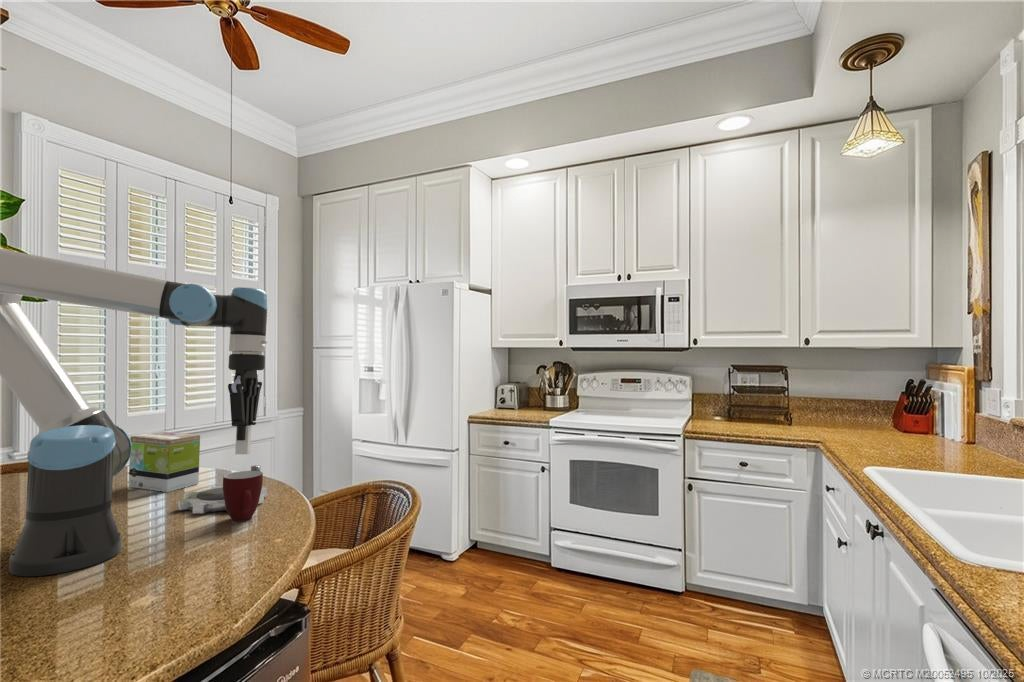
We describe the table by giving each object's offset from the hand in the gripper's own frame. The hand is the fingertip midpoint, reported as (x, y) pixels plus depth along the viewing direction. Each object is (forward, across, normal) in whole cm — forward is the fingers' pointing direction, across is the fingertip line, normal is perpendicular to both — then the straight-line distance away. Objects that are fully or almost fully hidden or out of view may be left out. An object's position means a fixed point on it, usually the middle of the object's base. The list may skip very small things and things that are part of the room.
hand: (242, 453), depth 114 cm
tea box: (+15, +29, +33) cm, 47 cm away
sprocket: (+15, +11, +8) cm, 20 cm away
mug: (+15, -3, -2) cm, 15 cm away
